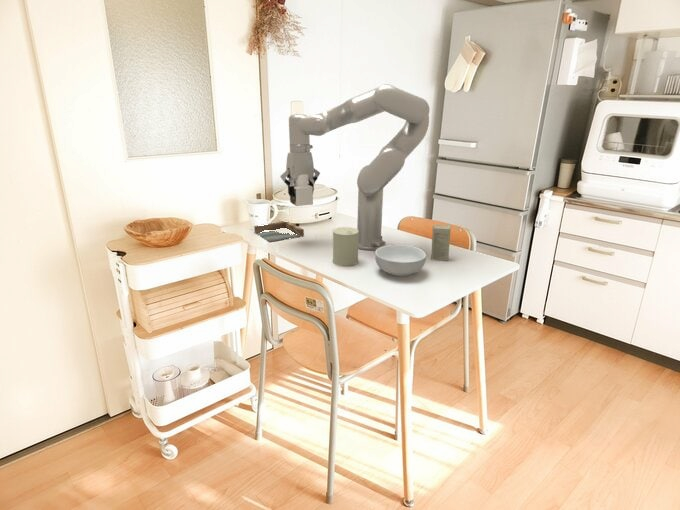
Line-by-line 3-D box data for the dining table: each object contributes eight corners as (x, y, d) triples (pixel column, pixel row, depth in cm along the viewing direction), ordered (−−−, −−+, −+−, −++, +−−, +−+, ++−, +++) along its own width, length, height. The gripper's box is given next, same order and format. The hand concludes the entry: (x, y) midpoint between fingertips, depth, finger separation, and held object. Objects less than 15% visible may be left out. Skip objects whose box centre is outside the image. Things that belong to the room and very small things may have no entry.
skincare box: (448, 257, 163) (451, 225, 159) (448, 261, 159) (451, 229, 155) (431, 255, 165) (433, 224, 161) (430, 259, 161) (432, 227, 157)
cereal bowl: (364, 272, 149) (365, 252, 147) (393, 259, 161) (394, 241, 158) (406, 286, 139) (407, 265, 136) (433, 271, 150) (435, 252, 148)
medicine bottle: (290, 202, 174) (288, 172, 170) (306, 200, 177) (306, 171, 173) (295, 206, 168) (294, 175, 164) (313, 204, 171) (312, 173, 167)
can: (342, 268, 153) (343, 235, 148) (327, 260, 160) (327, 228, 155) (363, 262, 158) (364, 230, 154) (347, 255, 165) (348, 224, 161)
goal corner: (303, 236, 186) (303, 229, 185) (269, 242, 178) (269, 235, 177) (287, 227, 198) (286, 220, 197) (254, 232, 190) (254, 226, 189)
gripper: (315, 146, 173) (315, 190, 179) (274, 149, 164) (276, 195, 170) (324, 148, 167) (325, 194, 173) (283, 151, 158) (285, 199, 164)
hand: (301, 194), depth 171 cm, fingers closed on medicine bottle, 7 cm apart
